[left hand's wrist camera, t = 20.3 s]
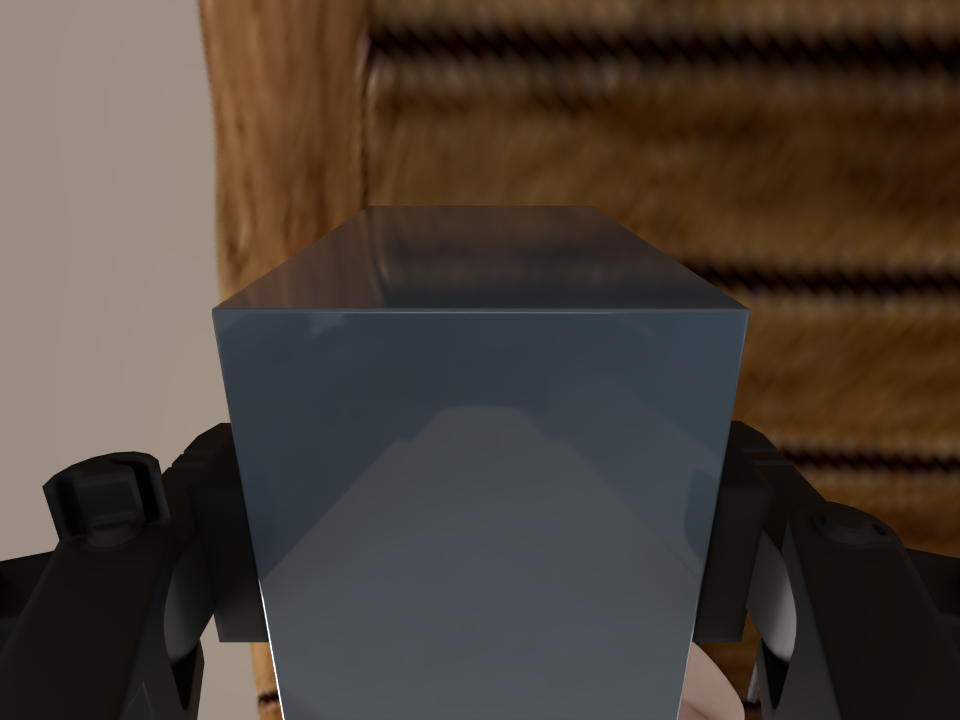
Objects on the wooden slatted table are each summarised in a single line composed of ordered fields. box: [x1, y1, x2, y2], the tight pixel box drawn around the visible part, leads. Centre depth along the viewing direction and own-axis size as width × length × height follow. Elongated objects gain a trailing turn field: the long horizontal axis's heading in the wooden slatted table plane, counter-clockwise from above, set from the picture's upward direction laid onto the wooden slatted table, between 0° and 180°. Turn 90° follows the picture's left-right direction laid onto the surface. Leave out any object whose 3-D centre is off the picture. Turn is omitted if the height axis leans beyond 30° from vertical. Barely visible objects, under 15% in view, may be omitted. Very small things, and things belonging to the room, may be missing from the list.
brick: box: [212, 206, 750, 720], centre depth 13 cm, size 6×8×10 cm
